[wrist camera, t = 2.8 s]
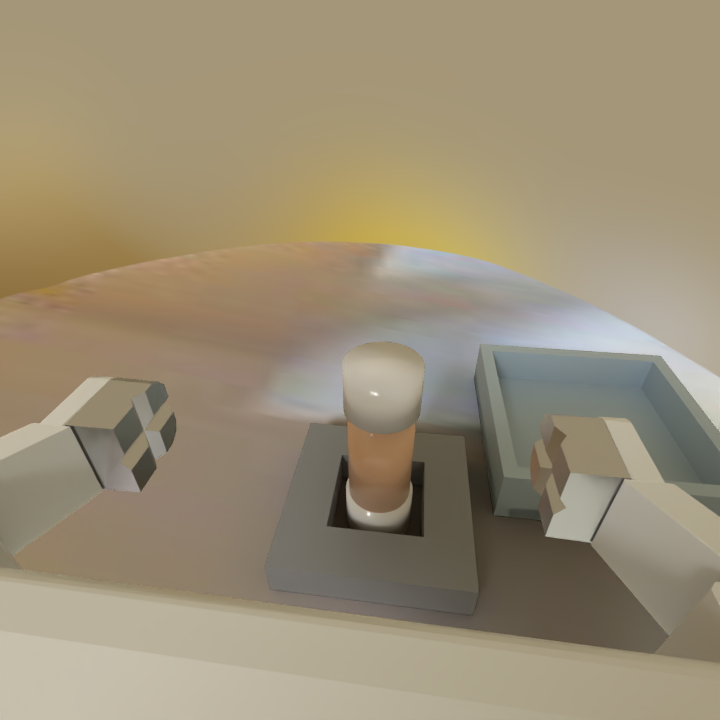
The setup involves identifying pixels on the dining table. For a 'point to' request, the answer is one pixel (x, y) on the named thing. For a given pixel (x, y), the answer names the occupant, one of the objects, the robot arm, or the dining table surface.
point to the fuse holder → (376, 549)
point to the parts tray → (594, 399)
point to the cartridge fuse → (381, 433)
